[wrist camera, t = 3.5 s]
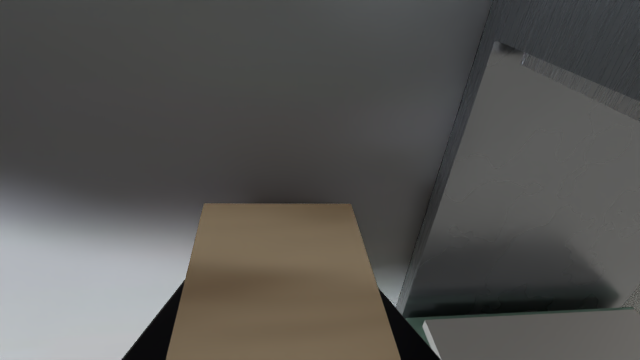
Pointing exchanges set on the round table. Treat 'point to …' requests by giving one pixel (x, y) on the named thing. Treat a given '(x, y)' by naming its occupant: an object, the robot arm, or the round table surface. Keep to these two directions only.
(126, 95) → the round table surface
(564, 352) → the block
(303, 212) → the tan wooden block
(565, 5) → the grey angle bracket
